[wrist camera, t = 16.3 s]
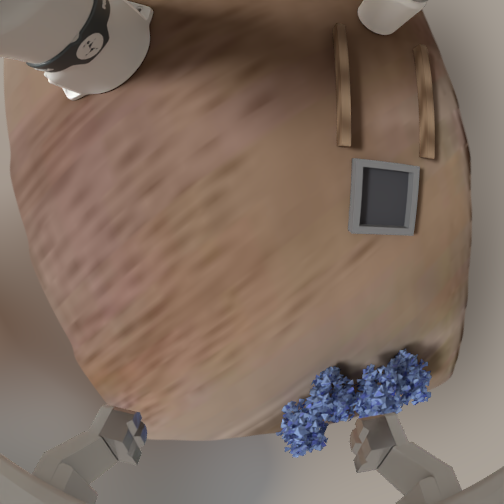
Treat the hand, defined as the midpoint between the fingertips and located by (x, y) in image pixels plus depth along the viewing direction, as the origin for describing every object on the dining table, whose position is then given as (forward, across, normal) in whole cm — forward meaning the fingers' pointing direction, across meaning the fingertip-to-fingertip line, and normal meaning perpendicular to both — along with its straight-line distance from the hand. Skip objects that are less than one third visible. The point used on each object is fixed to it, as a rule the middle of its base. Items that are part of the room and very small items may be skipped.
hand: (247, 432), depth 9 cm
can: (+31, -18, -33) cm, 49 cm away
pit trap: (+31, -18, -5) cm, 36 cm away
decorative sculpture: (+31, -18, +28) cm, 46 cm away
